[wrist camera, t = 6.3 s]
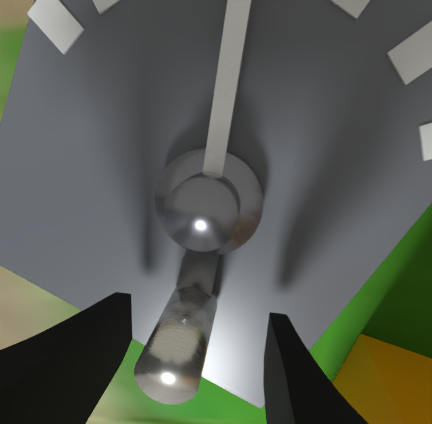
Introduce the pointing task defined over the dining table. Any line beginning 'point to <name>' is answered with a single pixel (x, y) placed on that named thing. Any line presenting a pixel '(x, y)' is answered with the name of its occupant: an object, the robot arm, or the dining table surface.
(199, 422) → the dining table surface
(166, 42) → the dial plate
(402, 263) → the dining table surface
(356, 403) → the orange juice
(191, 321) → the dial pointer
